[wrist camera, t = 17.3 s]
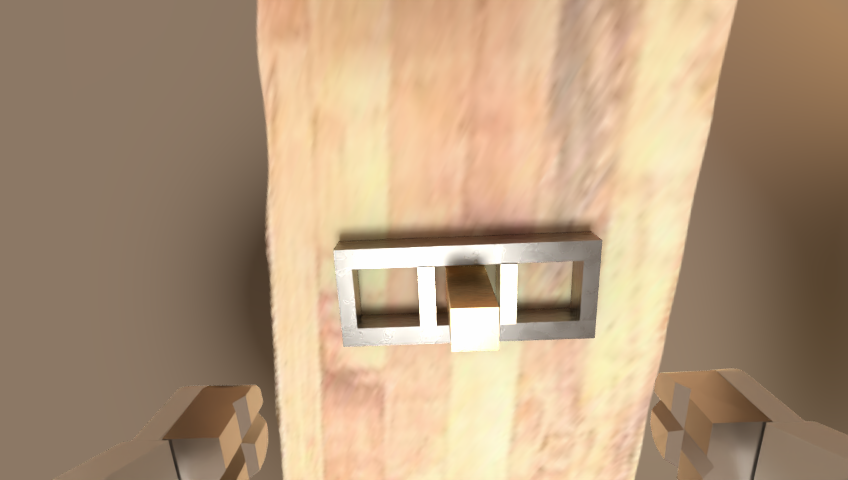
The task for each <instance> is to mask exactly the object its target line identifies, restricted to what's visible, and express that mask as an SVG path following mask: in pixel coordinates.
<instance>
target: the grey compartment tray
mask: <svg viewBox="0 0 848 480" xmlns="http://www.w3.org/2000/svg"><path fill="white" fill-rule="evenodd" d="M601 250H602V240H601V239H600V238H599V237H597V236H596V235H595V234H593V233H592V232H567V233H541V234H515V235H489V236H464V237H438V238H412V239H386V240H360V241H339V242H338V244H337V246H336V247H335V249H334V250H333V253H334V262H335V271H336V281H337V290H338V299H339V309H340V318H341V327H342V337H343V346H344V347H350V346H379V345H408V344H437V343H451V341H450V331H449V321H448V312H438V313H436V300H435V273H434V266H456V265H482V264H496V299H497V302H498V305H499V341H524V340H552V339H581V338H595V326H596V313H597V301H598V288H599V275H600V263H601ZM562 261H573V274H572V291H571V307H570V308H550V309H522V310H517V269H518V264H517V263H535V262H562ZM402 267H418V285H419V305H420V313H410V314H382V315H362V314H361V303H360V292H359V281H358V270H357V269H376V268H402Z"/></svg>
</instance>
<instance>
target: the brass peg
mask: <svg viewBox="0 0 848 480" xmlns="http://www.w3.org/2000/svg"><path fill="white" fill-rule="evenodd" d="M446 301H447V311H448V321H449V331H450V341H451V350H452V352H459V351H489V350H499V305H498V302H497V299H496V297H495V294H494V291H493V288H492V286H491V283H490V280H489V277H488V275H487V272H486V269H485V267H484V265H474V266H447V267H446Z"/></svg>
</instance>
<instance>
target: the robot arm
mask: <svg viewBox="0 0 848 480" xmlns="http://www.w3.org/2000/svg"><path fill="white" fill-rule="evenodd" d="M654 391H655V393H656V394H657V396H658V397H659V398H660V401H659V402H658V403H657V404H656V405H655V406H654V407H653V409H652V411H651V422H650V425H651V430H652V436H653V439H654V442H655V444H656V446H657V449H658V451H659V452H660V454H661V455H662V457H663V458H664V459H665V460H666V461H668V462H669V463H671V464H673V465H674V466H676V467H677V468H678V474H677V479H678V480H848V435H846V434H844V433H841V432H839V431H836V430H834V429H832V428H829V427H827V426H824V425H822V424H819V423H817V422H814V421H804V420H803V419H802V418H800V417H799V416H798V415H797V414H795V413H794V412H793V411H792V410H791V409H789V408H788V407H787V406H786V405H784V404H783V403H782V402H781V401H780V400H778V399H777V398H776V397H775V396H773V395H772V394H771V393H770V392H769V391H767V390H766V389H765V388H764V387H762V386H761V385H760V384H759V383H758V382H756V381H755V380H754V379H753V378H752V377H750V376H749V375H748V374H747V373H745V372H744V371H741V370H739V369H736V368H734V369H717V370H709V371H691V372H690V371H688V372H667V373H659V374H658V376H657V378H656V380H655V387H654ZM262 404H263V399H262V395H261V390H260V388H259V387H258V386H257V385H209V386H206V385H202V386H184V387H181V388H179V389H178V390H177V391H176V392H175V393H174V394H173V395H172V397H171V398H170V399H169V400H168V401H167V402H166V403H165V404H164V405H163V407H162V408H161V409H160V410H159V411H158V412H157V413H156V414H155V415H154V417H153V418H152V419H151V420H150V421H149V422H148V423H147V425H146V426H145V427H144V428H143V429H142V430H141V431H140V432H139V433H138V435H137V436H136V437H135V438H134V439H133V440H132V441H124V442H121V443H119V444H118V445H116V446H114V447H112V448H110V449H108V450H106V451H105V452H103V453H101V454H99V455H97V456H95V457H94V458H91V459H90V460H88V461H86V462H84V463H82V464H80V465H78V466H77V467H75V468H73V469H71V470H69V471H67V472H65V473H64V474H62V475H60V476H58V477H56V478H54V479H52V480H249V479H250V478H251V477H252V476H253V475H255V474H256V473H257V472H258V471H260V469H261V466H262V464H263V462H264V460H265V455H266V450H267V446H268V428H267V422H266V420H265V419H264V418H263V417H262V416H261V415H260V414H259V413H258V411H259V410H260V408H261V406H262Z"/></svg>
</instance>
